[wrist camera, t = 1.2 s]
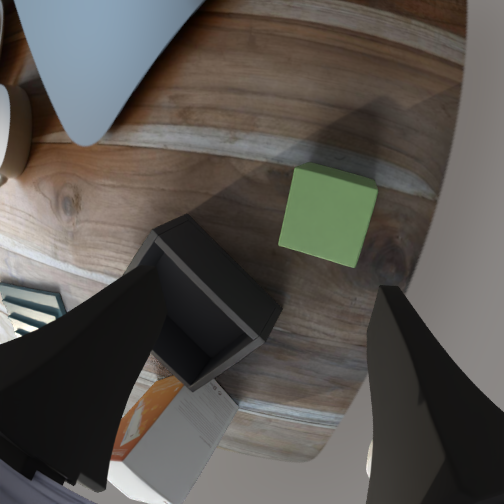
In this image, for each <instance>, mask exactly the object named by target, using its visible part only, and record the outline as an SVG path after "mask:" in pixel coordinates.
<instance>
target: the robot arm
mask: <svg viewBox="0 0 504 504" xmlns="http://www.w3.org/2000/svg"><path fill="white" fill-rule="evenodd" d="M167 312H168V311H167V307H166V303H165V300H164V296H163V292H162V288H161V284H160V280H159V276H158V272H157V268H156V266H147V265H140V266H138V267H136V268H134V269H133V270H131V271H129V272H128V273H126V274H125V275H123V276H122V277H120V278H119V279H117V280H116V281H114V282H113V283H111V284H110V285H109V286H107V287H106V288H104V289H103V290H101V291H100V292H98V293H97V294H95V295H94V296H92V297H91V298H89V299H88V300H86V301H85V302H83V303H81V304H80V305H78V306H77V307H75V308H74V309H72V310H71V311H69V312H67V313H66V314H64V315H62V316H61V317H59V318H57V319H55V320H54V321H52V322H50V323H48V324H46V325H44V326H42V327H40V328H38V329H36V330H34V331H32V332H29V333H27V334H25V335H23V336H21V337H18V338H16V339H14V340H11V341H8V342H6V343H3V344H0V504H96V503H94V502H92V501H89V500H88V499H86V498H84V497H82V496H80V495H78V494H76V493H74V492H73V491H71V490H69V489H67V488H65V487H64V486H63V483H64V482H67V483H69V484H71V485H73V486H74V485H75V484H76V483H78V484H80V485H82V486H84V487H86V488H88V489H90V490H92V491H94V492H102V491H104V490H105V489H106V484H107V477H108V471H109V465H110V460H111V456H112V451H113V447H114V443H115V439H116V435H117V432H118V428H119V425H120V422H121V418H122V415H123V412H124V409H125V407H126V404H127V401H128V398H129V395H130V393H131V391H132V389H133V386H134V384H135V382H136V380H137V378H138V376H139V374H140V372H141V370H142V369H143V367H144V365H145V363H146V361H147V359H148V357H149V355H150V353H151V351H152V349H153V347H154V345H155V343H156V341H157V339H158V337H159V335H160V332H161V329H162V327H163V324H164V321H165V318H166V315H167ZM367 364H368V373H369V382H370V391H371V402H372V412H373V448H372V461H371V471H370V481H369V488H368V494H367V501H366V504H504V412H503V411H502V410H501V409H500V408H498V407H497V406H496V405H495V404H494V403H493V402H492V401H491V400H490V399H489V398H488V397H487V396H486V395H485V394H484V393H483V392H482V391H480V389H479V388H478V387H477V386H476V385H475V384H474V383H473V382H472V381H471V380H470V379H469V378H468V377H467V376H466V374H465V373H464V372H463V371H462V370H461V369H460V368H459V367H458V366H457V364H456V363H455V362H454V361H453V360H452V358H451V357H450V356H449V355H448V353H447V352H446V351H445V350H444V348H443V347H442V346H441V345H440V343H439V342H438V341H437V339H436V338H435V337H434V336H433V334H432V333H431V331H430V330H429V329H428V327H427V326H426V325H425V323H424V322H423V320H422V319H421V318H420V316H419V315H418V313H417V312H416V311H415V309H414V308H413V306H412V305H411V304H410V302H409V301H408V299H407V298H406V296H405V295H404V294H403V292H402V291H401V289H400V288H399V287H398V286H385V285H380V286H379V290H378V294H377V298H376V301H375V305H374V309H373V312H372V316H371V319H370V323H369V326H368V329H367Z"/></svg>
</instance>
